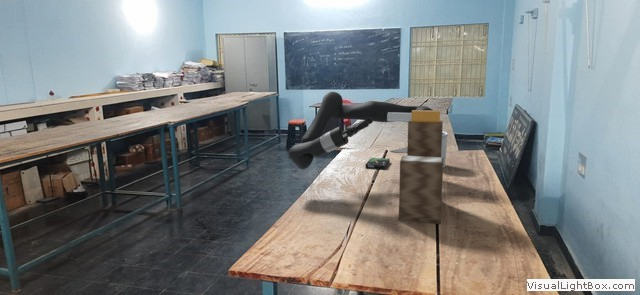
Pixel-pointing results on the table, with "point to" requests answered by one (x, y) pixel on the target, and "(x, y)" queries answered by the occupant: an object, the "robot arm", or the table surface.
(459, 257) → the table surface
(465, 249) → the table surface
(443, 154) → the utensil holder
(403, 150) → the paper plane
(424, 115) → the bar
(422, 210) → the zigzag patterned block
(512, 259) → the table surface
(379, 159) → the disk drive
